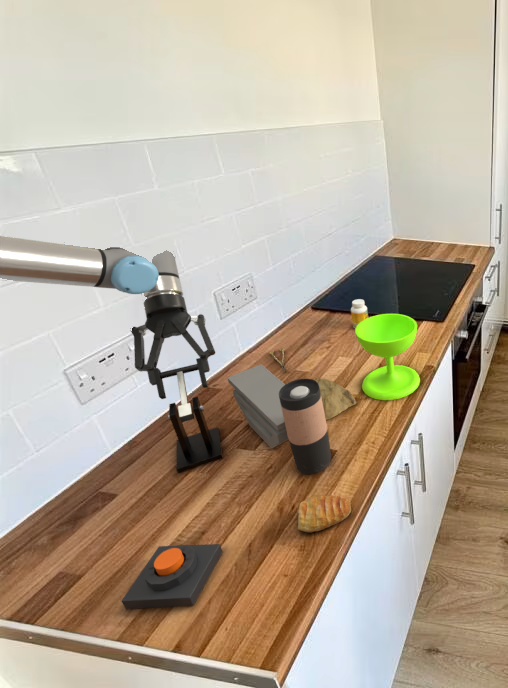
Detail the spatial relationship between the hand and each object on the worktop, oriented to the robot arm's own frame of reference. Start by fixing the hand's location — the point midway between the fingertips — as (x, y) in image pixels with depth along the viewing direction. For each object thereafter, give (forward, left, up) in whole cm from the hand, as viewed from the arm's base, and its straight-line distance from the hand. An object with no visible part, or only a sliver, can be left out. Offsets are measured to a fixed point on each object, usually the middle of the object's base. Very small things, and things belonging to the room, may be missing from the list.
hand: (184, 391), depth 96 cm
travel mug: (+29, -10, -12) cm, 33 cm away
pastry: (+35, -24, -12) cm, 44 cm away
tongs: (+7, +30, -12) cm, 34 cm away
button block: (+15, -35, -12) cm, 40 cm away
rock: (+29, +7, -12) cm, 33 cm away
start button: (+15, -35, -9) cm, 39 cm away
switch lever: (+1, -1, 0) cm, 1 cm away
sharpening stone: (+17, +1, -12) cm, 21 cm away
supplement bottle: (+25, +52, -12) cm, 59 cm away
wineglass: (+41, +20, -12) cm, 47 cm away
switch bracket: (+3, -6, -12) cm, 14 cm away
